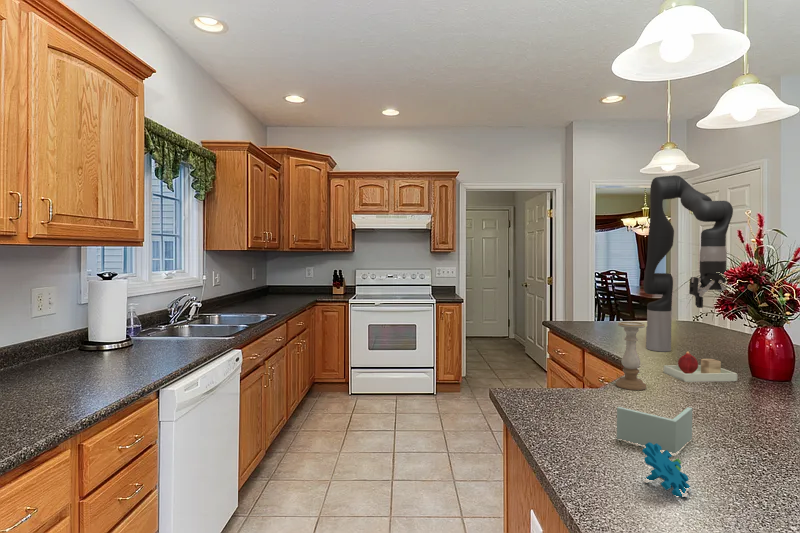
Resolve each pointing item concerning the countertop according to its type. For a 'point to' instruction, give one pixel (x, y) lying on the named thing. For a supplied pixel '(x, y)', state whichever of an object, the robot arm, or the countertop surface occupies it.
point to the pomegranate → (688, 363)
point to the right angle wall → (655, 428)
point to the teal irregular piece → (665, 469)
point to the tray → (699, 375)
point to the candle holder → (631, 358)
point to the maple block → (710, 366)
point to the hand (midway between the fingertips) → (711, 307)
